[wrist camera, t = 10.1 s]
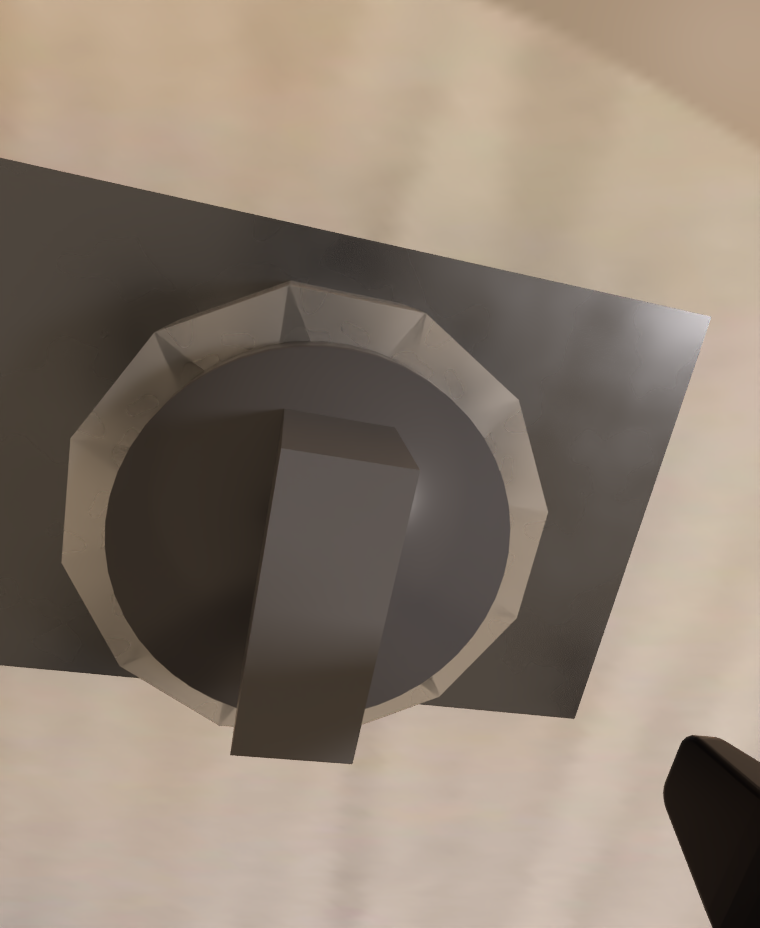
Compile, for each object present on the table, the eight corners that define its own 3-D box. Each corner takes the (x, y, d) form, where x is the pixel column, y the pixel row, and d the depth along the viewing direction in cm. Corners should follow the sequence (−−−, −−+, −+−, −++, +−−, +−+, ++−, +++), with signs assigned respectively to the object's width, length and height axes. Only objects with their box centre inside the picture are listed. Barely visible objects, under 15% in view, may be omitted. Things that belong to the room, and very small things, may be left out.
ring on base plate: (-47, 615, 18) (-171, 742, 13) (-37, 154, 15) (-197, 102, 10) (549, 677, 21) (622, 798, 16) (667, 310, 18) (801, 328, 13)
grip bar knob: (134, 604, 16) (40, 803, 10) (167, 295, 14) (73, 322, 8) (426, 637, 17) (492, 830, 11) (496, 360, 15) (621, 422, 9)
